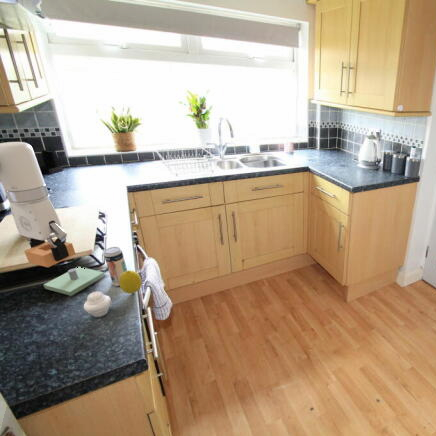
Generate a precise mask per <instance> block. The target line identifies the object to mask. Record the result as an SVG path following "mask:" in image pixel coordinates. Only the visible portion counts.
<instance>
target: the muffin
mask: <svg viewBox="0 0 436 436" xmlns="http://www.w3.org/2000/svg"><path fill="white" fill-rule="evenodd" d="M111 303H112V299H111V297H110V295H106V294H104V292H102V291H93V292H90V293H89V294H88V295H87V297H86V301H85V303H84V304H83V310H84V311H86V313H88V314H89V315H91V316H93V317H95V318H100V317H103V316H105V315H106V314H108V312H109V310H110V306H111Z"/></svg>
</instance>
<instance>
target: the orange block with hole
mask: <svg viewBox="0 0 436 436" xmlns="http://www.w3.org/2000/svg"><path fill="white" fill-rule="evenodd" d="M52 239H53V241H54V242H55V240H56V239H57V238H56V239H55V238H52ZM65 245H66V248H67V251H68V253H69V256H68V257H66V258H64V259H62V260H60V261H55V259H54V256H53V253H52V251H51V248H52V246H51V245H50V243H49V242H48V241H47V240H46V241H45V243H42V244H40V245H37V246H35V247H33V248H31V247H30V248H27V249H25V250H23V252H24V254H25V257H26V259H27V261H28V263H30V264H33V265H36V266H37V265H38V266H41V267H44V268H50V267H52V266H54V265H57V264H59V263H61V262H63V261H64V260H67V259H69V258H71V257H73V256H75V255H76V250H75V248H74V245H73V243H72V242H67V241H66V244H65Z"/></svg>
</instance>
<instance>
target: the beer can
mask: <svg viewBox="0 0 436 436" xmlns="http://www.w3.org/2000/svg"><path fill="white" fill-rule="evenodd" d="M103 257H104V260H105V264H106V266H107V271H108V273H109V276H110V281H111V283H112V284H111V285H113V286H115V287H120V277H121V275H122V274H123V273H124V272H126V271H128V269H127V264H126V261H125V257H124V253H123V250H122V249H121V248H120V247H119V246H111V247H108V248H106V249H105V250H104V252H103Z"/></svg>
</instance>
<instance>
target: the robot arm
mask: <svg viewBox="0 0 436 436" xmlns="http://www.w3.org/2000/svg"><path fill="white" fill-rule="evenodd" d="M0 183H1V185H2V187H3V190H4V193H5V195H6V197H7V199H8V202H9V206H10V211H11V216H12V218H13V221H14V224H15V226H16V229H17V232H18V234H19V235H20V236H22V237H26V242H28V244H29V246H30V248H33V247H35V246H37V245H40V244H42V243H45V242H47V241H48V242H49V243H50V245H51V246H52V248H51V251H52V253H53V256H54V259H55V261H60V260H62V259H64V258H66V257H68V256H69V253H68V251H67V248H66V245H65V244H66V242H67V236H68V233H67V232H66V231H65V230H64V229H63V227H62V223H61V220H60V218H59V216H58V213H57V211H56V209H55V207H54V204H53V203H52V201H51V199H50V193H49V190H48V188H47V184H46V181H45V179H44V177H43V174H42V170H41V167H40V165H39V163H38V159H37V156H36V153H35V150H34V149H33V147H32V145H31V144H29V143H28V142H25V141H7V142H1V143H0ZM55 238H56V240H55V242H54V241H53V239H55Z"/></svg>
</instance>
